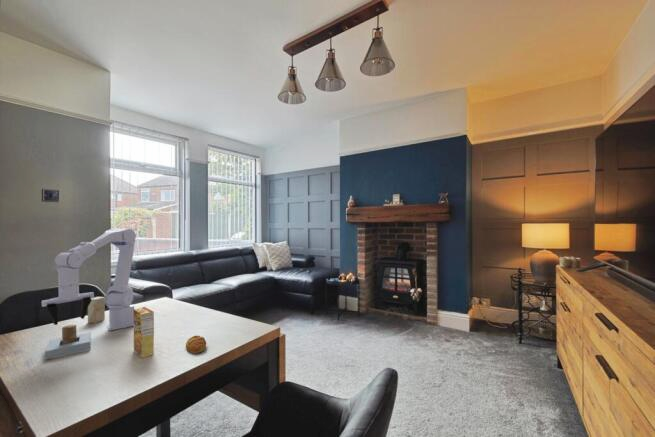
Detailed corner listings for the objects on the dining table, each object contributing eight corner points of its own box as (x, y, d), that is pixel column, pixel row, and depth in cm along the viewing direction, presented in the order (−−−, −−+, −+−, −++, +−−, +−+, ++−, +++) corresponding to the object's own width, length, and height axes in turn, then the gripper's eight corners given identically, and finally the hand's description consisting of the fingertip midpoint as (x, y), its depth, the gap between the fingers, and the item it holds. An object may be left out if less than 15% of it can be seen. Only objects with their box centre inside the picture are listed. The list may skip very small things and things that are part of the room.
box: (94, 323, 136) (94, 299, 136) (87, 322, 136) (86, 299, 136) (105, 319, 141) (105, 296, 141) (98, 319, 142) (97, 296, 142)
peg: (75, 344, 112) (74, 323, 111) (78, 347, 109) (77, 326, 109) (61, 348, 108) (60, 327, 108) (63, 351, 106) (63, 329, 106)
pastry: (209, 351, 105) (209, 340, 105) (189, 357, 101) (189, 346, 101) (203, 342, 113) (203, 332, 113) (184, 347, 109) (184, 337, 109)
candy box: (132, 351, 106) (132, 309, 106) (146, 347, 109) (145, 306, 109) (141, 358, 100) (140, 314, 100) (155, 354, 103) (154, 311, 103)
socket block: (90, 339, 117) (90, 332, 117) (90, 349, 108) (90, 341, 108) (49, 348, 110) (49, 340, 110) (45, 360, 100) (45, 351, 100)
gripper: (89, 279, 117) (90, 313, 117) (39, 287, 105) (40, 324, 105) (95, 282, 113) (96, 317, 113) (43, 289, 101) (44, 328, 101)
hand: (69, 321), depth 109 cm, fingers open, 7 cm apart
